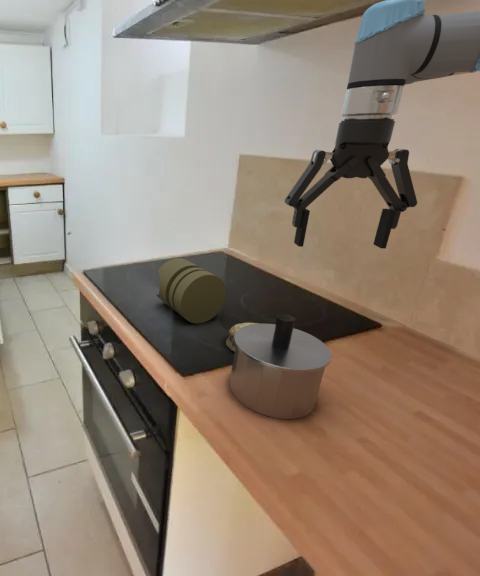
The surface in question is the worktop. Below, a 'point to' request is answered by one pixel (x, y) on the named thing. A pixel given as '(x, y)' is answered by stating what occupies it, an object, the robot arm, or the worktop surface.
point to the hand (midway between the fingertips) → (338, 245)
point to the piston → (191, 290)
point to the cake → (232, 332)
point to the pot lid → (282, 346)
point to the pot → (273, 388)
